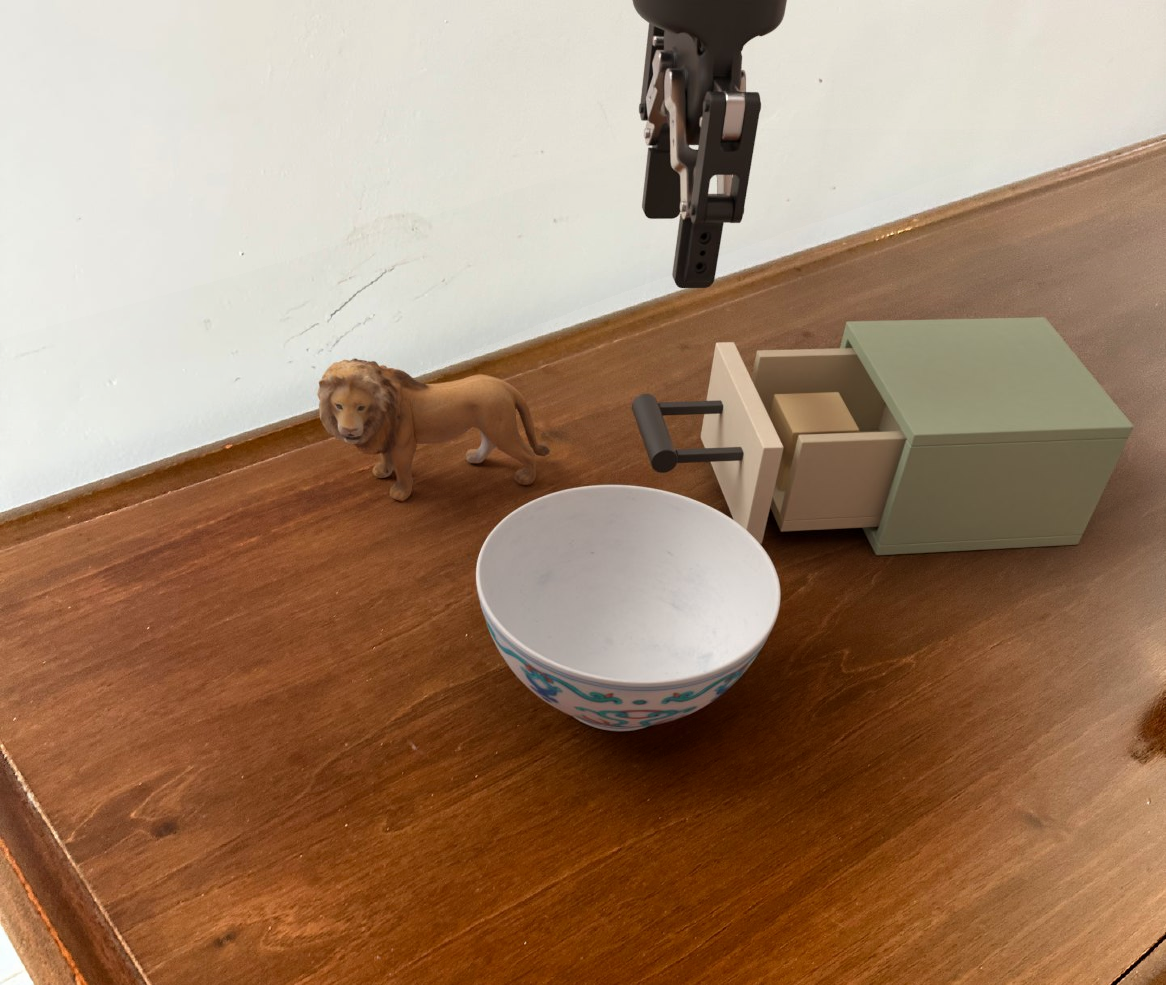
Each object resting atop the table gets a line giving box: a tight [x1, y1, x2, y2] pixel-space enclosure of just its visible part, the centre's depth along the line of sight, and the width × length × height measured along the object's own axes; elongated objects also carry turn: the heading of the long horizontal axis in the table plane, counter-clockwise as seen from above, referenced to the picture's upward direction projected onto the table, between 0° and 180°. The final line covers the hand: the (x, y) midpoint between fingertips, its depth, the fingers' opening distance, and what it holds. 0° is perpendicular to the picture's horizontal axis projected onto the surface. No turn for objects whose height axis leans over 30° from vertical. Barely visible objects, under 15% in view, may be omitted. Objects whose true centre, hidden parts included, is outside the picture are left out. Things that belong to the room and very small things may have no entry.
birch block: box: [770, 392, 859, 491], centre depth 74 cm, size 4×4×4 cm
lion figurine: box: [316, 357, 551, 502], centre depth 72 cm, size 15×5×9 cm, turn 115°
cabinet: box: [839, 316, 1134, 556], centre depth 75 cm, size 14×13×9 cm
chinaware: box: [475, 484, 782, 732], centre depth 61 cm, size 15×15×8 cm
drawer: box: [631, 341, 907, 545], centre depth 73 cm, size 18×11×7 cm, turn 100°
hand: (675, 249), depth 67 cm, fingers open, 8 cm apart
